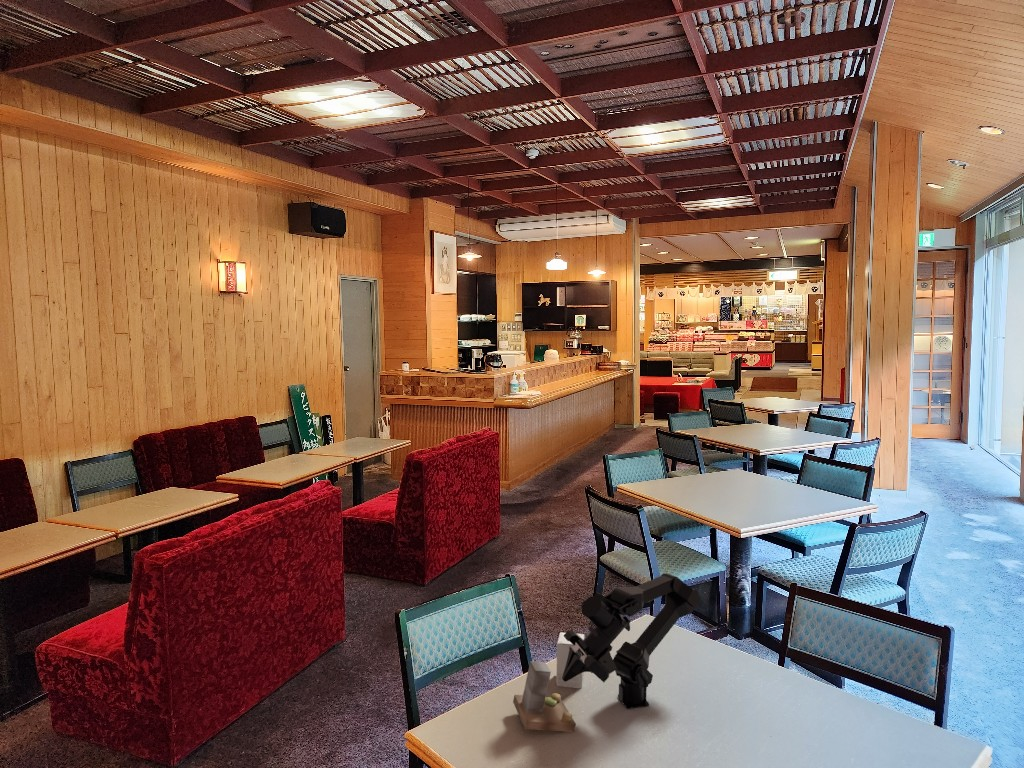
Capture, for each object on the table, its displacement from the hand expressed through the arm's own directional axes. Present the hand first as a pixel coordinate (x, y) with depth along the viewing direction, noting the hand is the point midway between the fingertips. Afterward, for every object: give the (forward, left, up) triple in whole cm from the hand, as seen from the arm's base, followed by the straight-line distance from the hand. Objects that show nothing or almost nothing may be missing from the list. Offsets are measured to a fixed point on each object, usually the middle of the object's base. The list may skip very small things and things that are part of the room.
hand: (563, 680), depth 169 cm
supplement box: (-8, -18, -11) cm, 22 cm away
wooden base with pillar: (+5, -1, -9) cm, 11 cm away
